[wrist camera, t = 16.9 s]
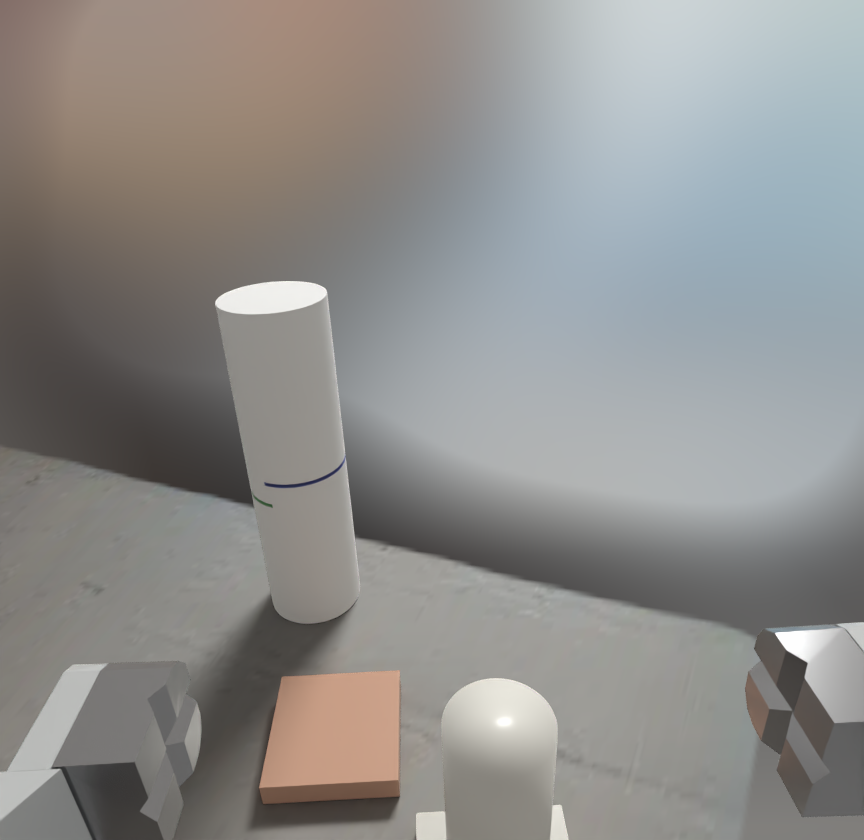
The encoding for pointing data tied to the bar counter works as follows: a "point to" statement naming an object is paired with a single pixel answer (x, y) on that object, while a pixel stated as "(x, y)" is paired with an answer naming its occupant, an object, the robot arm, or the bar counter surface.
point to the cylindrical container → (293, 444)
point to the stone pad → (434, 825)
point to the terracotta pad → (334, 738)
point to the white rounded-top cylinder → (498, 762)
